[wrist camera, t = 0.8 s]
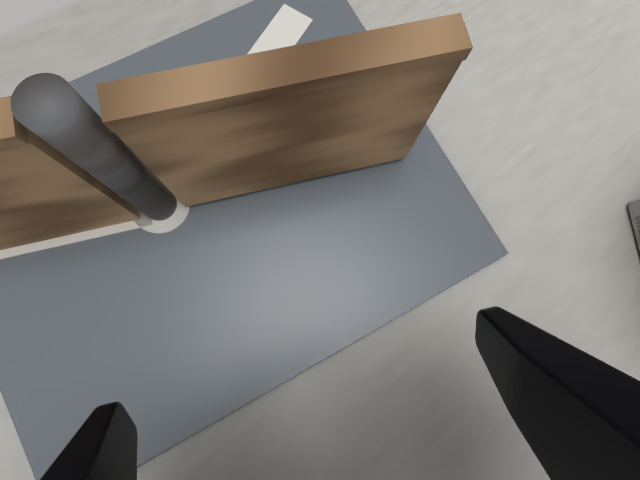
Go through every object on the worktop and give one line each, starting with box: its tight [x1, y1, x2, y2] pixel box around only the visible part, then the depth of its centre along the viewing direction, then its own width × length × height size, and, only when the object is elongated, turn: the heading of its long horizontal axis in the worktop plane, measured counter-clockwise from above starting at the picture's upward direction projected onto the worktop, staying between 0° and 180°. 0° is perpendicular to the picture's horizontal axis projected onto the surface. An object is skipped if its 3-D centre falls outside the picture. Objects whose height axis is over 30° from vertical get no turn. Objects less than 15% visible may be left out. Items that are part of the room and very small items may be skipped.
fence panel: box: [96, 13, 473, 207], centre depth 17 cm, size 11×1×9 cm, turn 104°
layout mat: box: [0, 0, 508, 480], centre depth 21 cm, size 18×23×1 cm
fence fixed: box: [0, 73, 177, 250], centre depth 16 cm, size 2×10×10 cm, turn 104°
